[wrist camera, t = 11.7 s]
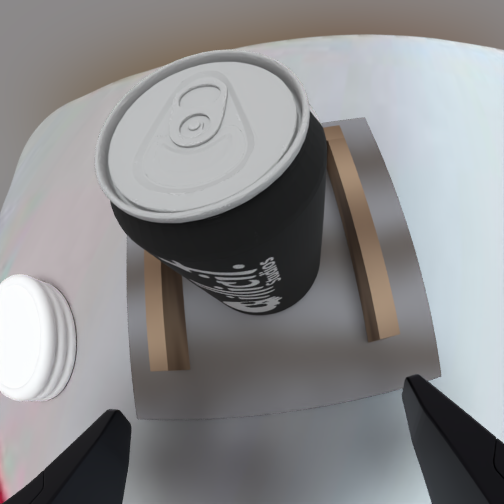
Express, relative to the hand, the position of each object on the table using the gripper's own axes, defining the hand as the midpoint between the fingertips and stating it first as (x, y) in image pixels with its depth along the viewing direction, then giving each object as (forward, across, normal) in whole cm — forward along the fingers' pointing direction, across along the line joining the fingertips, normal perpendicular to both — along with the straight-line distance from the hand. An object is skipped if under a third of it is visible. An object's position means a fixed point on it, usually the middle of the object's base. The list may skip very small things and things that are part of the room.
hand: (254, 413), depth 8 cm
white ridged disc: (+10, +19, +4) cm, 22 cm away
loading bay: (+12, 0, +1) cm, 12 cm away
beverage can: (+11, 0, +1) cm, 11 cm away
